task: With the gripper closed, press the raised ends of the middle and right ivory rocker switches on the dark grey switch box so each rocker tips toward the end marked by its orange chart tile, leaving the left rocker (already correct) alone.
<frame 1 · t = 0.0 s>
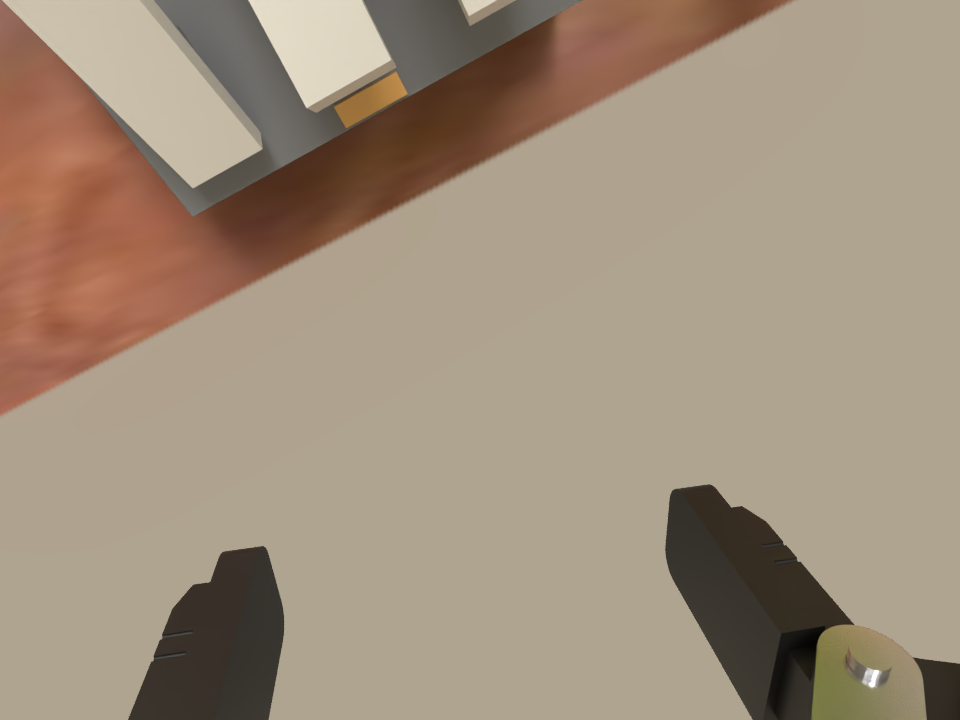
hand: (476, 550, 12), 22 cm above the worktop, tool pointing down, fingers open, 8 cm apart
rocker C: (141, 66, 20), point 6 cm above the worktop, hinge at -20.0°
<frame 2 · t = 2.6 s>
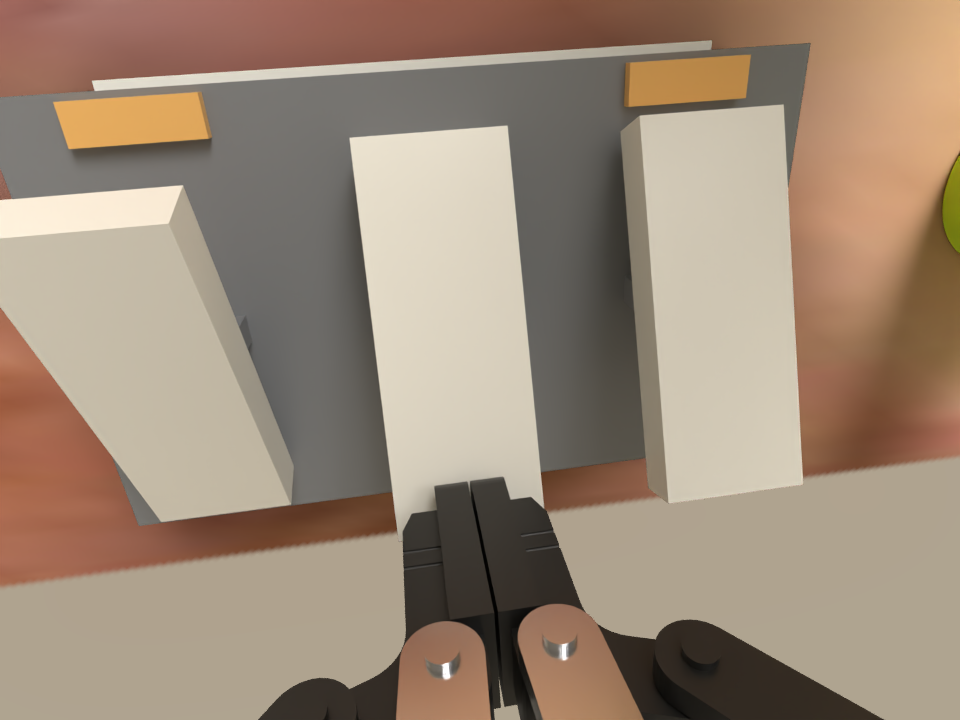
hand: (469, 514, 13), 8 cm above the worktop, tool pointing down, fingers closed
rocker C: (170, 385, 13), point 6 cm above the worktop, hinge at -20.0°
rocker A: (711, 308, 14), point 6 cm above the worktop, hinge at 20.0°
rocker B: (450, 336, 13), point 6 cm above the worktop, hinge at 19.9°, touching gripper
switch box: (431, 263, 19), on the worktop
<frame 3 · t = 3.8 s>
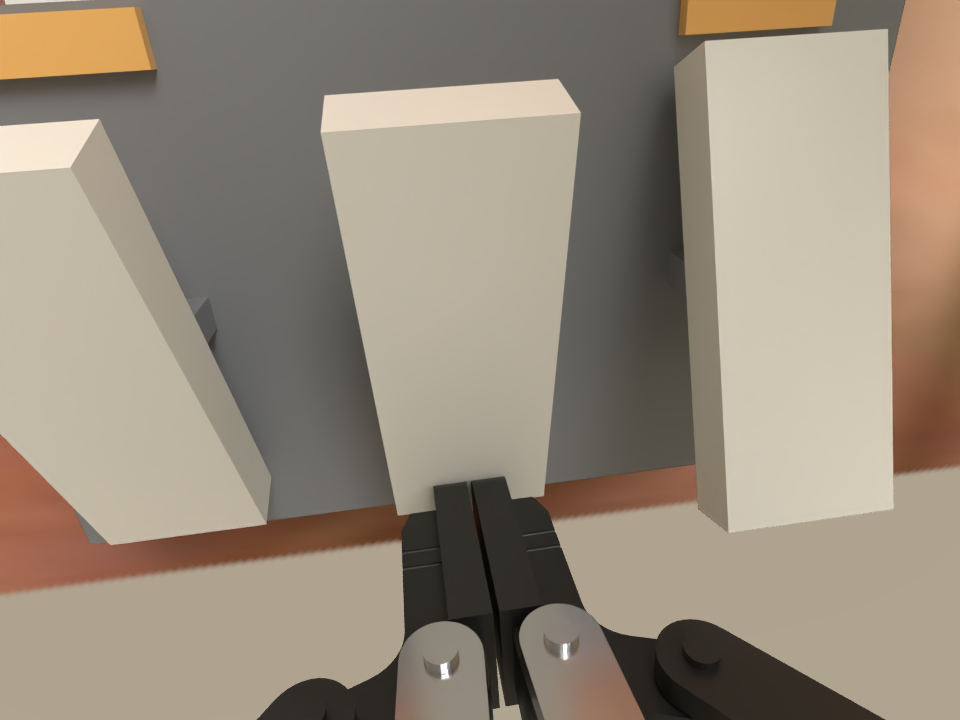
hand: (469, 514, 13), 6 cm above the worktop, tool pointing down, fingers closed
rocker C: (106, 384, 10), point 6 cm above the worktop, hinge at -20.0°
rocker A: (784, 290, 11), point 6 cm above the worktop, hinge at 20.0°
rocker B: (460, 344, 11), point 6 cm above the worktop, hinge at -16.5°, touching gripper
switch box: (435, 237, 16), on the worktop
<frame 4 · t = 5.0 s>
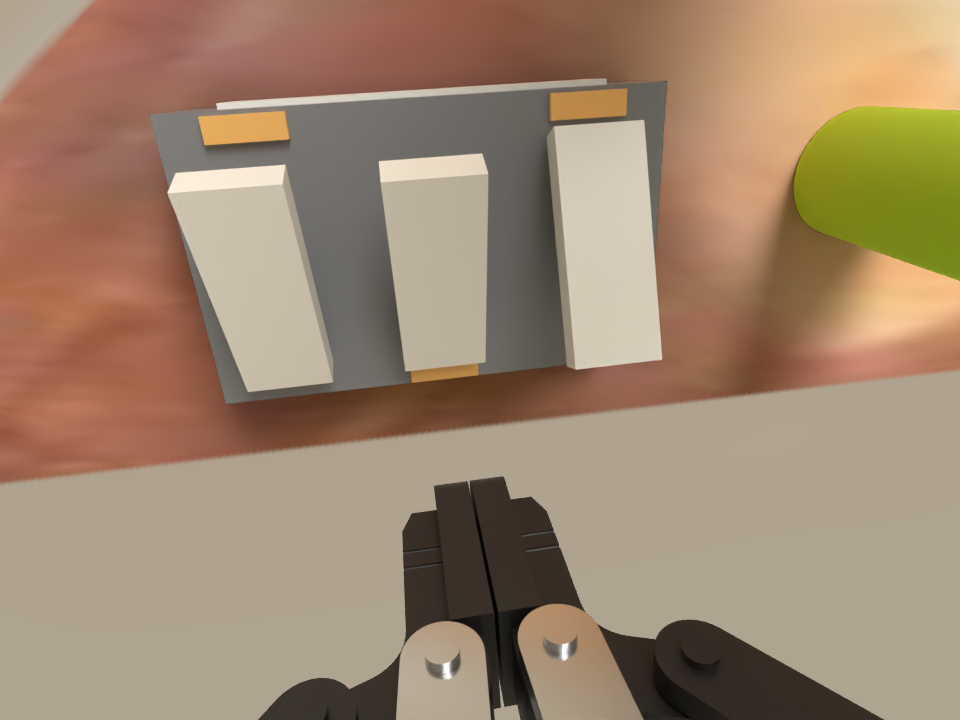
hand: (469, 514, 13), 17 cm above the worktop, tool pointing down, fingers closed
rocker C: (264, 291, 21), point 6 cm above the worktop, hinge at -20.0°
rocker A: (604, 247, 22), point 6 cm above the worktop, hinge at 20.0°
rocker B: (439, 275, 22), point 6 cm above the worktop, hinge at -22.9°
soap dispenser: (852, 181, 29), on the worktop
switch box: (427, 229, 27), on the worktop
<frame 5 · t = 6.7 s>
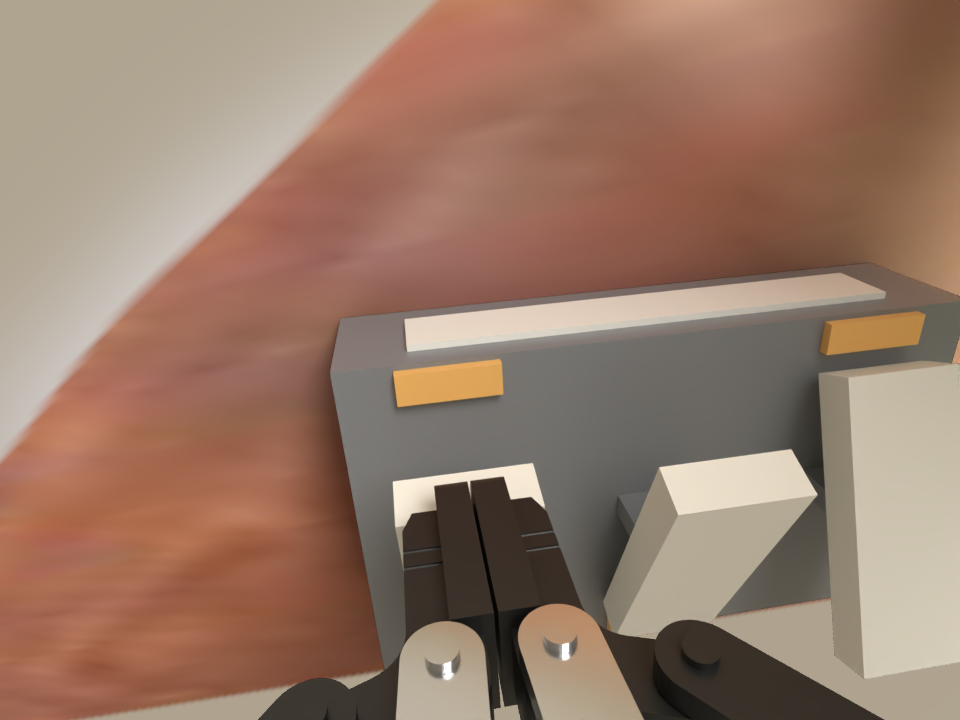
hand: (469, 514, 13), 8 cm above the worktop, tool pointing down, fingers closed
rocker C: (472, 590, 16), point 6 cm above the worktop, hinge at -16.1°, touching gripper
rocker A: (893, 516, 17), point 6 cm above the worktop, hinge at 20.0°
rocker B: (688, 559, 17), point 6 cm above the worktop, hinge at -23.9°
switch box: (612, 432, 22), on the worktop
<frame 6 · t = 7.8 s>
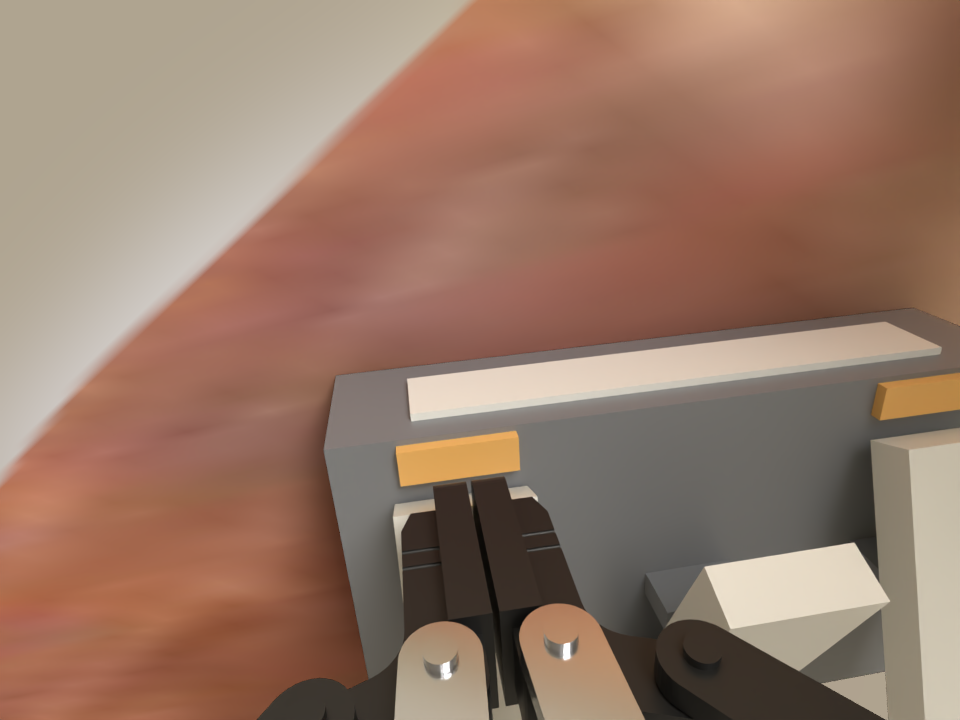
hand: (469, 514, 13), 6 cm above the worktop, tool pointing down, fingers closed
rocker C: (485, 681, 14), point 6 cm above the worktop, hinge at 23.7°, touching gripper
rocker A: (957, 600, 15), point 6 cm above the worktop, hinge at 20.0°
rocker B: (729, 652, 15), point 6 cm above the worktop, hinge at -23.9°
switch box: (632, 491, 21), on the worktop
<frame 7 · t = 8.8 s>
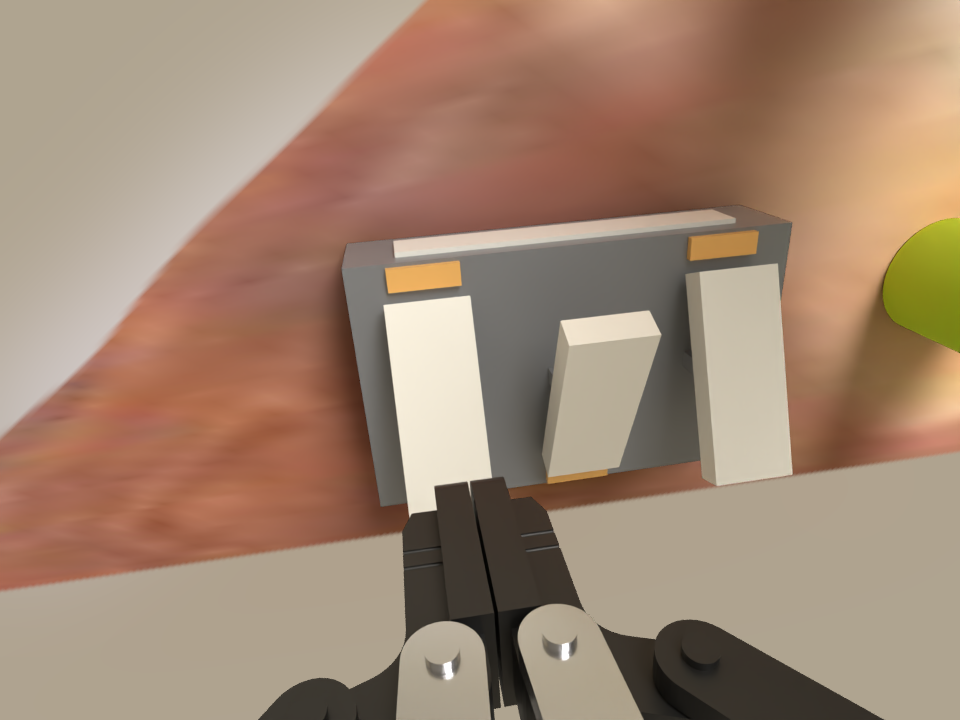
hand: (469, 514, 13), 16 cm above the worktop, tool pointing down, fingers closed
rocker C: (440, 411, 23), point 6 cm above the worktop, hinge at 23.3°
rocker A: (738, 374, 24), point 6 cm above the worktop, hinge at 20.0°
rocker B: (593, 402, 24), point 6 cm above the worktop, hinge at -23.9°
soap dispenser: (935, 281, 32), on the worktop
switch box: (552, 337, 30), on the worktop
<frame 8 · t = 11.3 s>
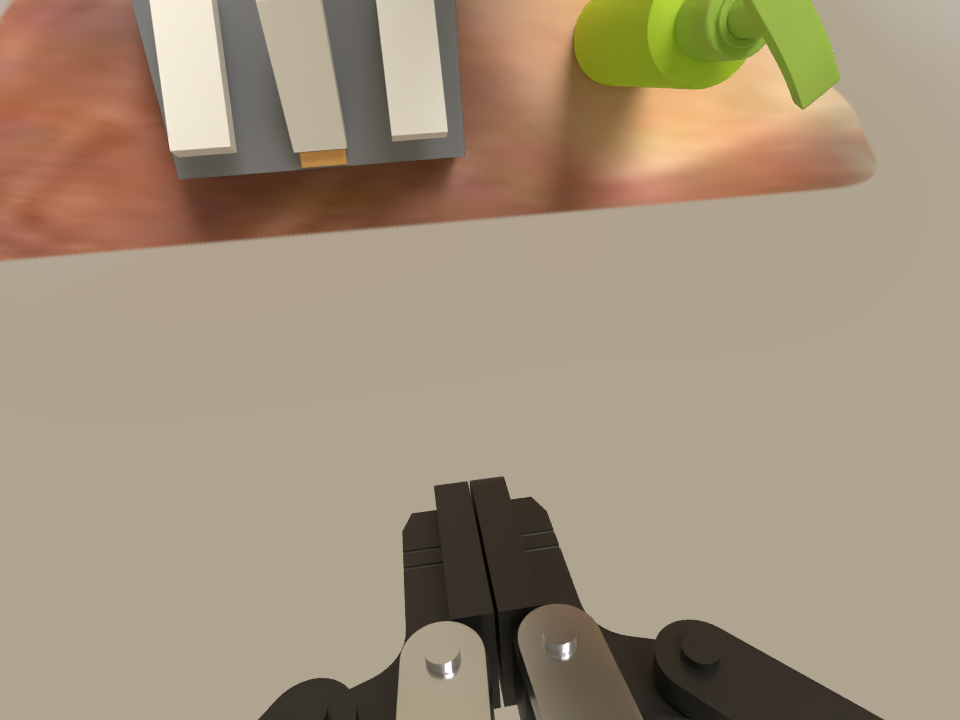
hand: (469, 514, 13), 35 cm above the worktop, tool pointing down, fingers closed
rocker C: (193, 75, 34), point 6 cm above the worktop, hinge at 22.3°
rocker A: (411, 61, 35), point 6 cm above the worktop, hinge at 20.0°
rocker B: (306, 77, 35), point 6 cm above the worktop, hinge at -23.9°
soap dispenser: (618, 45, 42), on the worktop
switch box: (316, 72, 40), on the worktop
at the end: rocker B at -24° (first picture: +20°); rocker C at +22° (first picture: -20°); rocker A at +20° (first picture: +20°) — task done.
